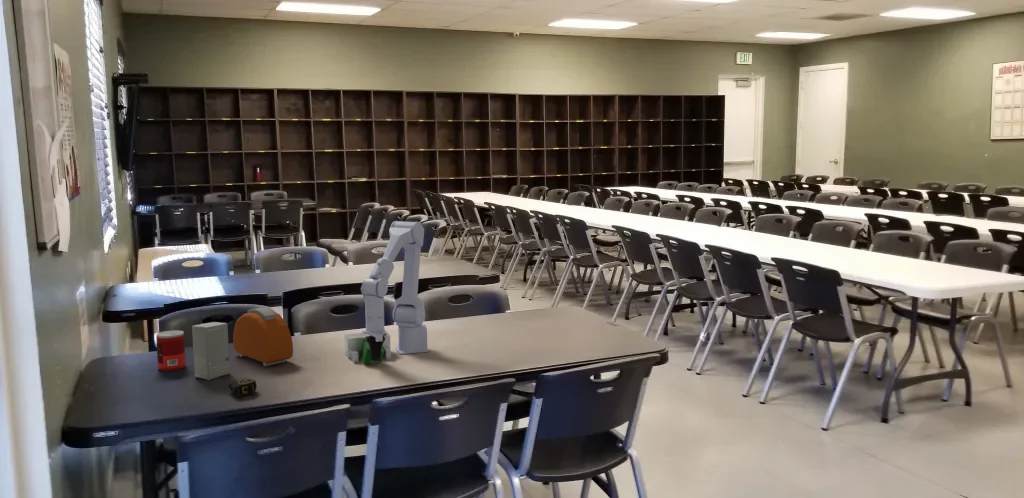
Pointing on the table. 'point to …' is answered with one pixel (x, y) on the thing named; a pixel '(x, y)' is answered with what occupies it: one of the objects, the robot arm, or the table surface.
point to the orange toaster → (263, 336)
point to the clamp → (369, 354)
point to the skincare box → (210, 350)
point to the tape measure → (243, 386)
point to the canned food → (170, 350)
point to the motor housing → (356, 343)
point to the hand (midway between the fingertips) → (375, 358)
